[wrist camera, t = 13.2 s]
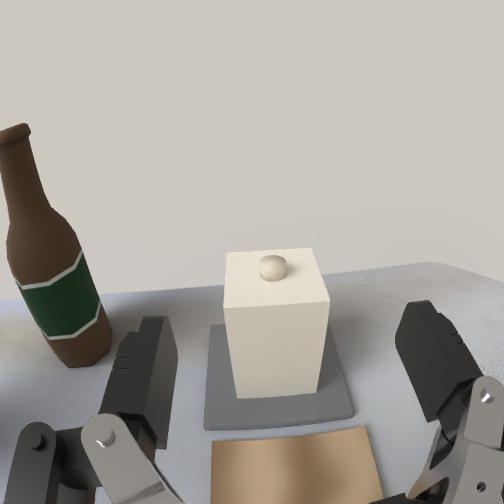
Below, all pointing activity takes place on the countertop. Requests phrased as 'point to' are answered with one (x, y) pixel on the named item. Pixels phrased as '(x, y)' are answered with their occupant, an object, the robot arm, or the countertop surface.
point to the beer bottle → (49, 260)
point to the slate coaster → (271, 408)
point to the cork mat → (296, 470)
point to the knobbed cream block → (275, 321)
